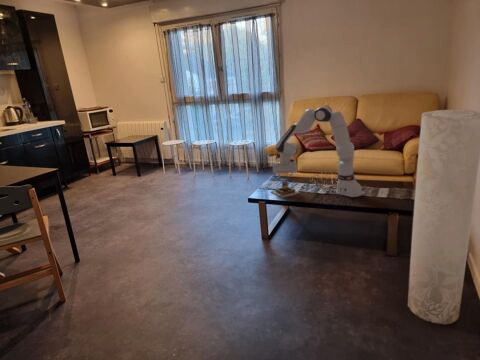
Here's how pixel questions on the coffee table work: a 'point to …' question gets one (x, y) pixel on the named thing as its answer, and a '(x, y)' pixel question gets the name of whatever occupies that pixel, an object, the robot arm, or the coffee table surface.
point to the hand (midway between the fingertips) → (285, 176)
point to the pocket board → (286, 193)
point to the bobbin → (285, 186)
